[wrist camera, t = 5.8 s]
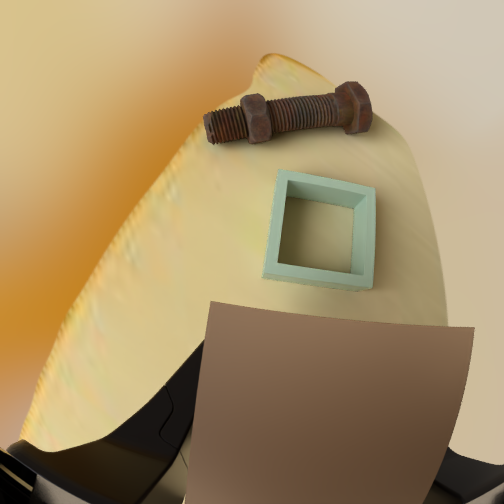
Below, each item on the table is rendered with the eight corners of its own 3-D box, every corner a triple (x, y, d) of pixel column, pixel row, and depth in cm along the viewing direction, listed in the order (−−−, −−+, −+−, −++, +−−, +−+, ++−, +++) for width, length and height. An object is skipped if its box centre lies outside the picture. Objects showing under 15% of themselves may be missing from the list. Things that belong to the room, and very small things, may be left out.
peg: (300, 389, 15) (408, 527, 3) (227, 381, 15) (182, 536, 3) (312, 319, 16) (474, 327, 3) (239, 309, 16) (210, 301, 4)
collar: (357, 291, 22) (372, 288, 19) (261, 278, 22) (263, 272, 19) (362, 202, 24) (375, 188, 21) (274, 185, 24) (278, 168, 21)
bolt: (210, 145, 27) (347, 123, 27) (214, 169, 23) (370, 144, 24) (198, 93, 22) (348, 75, 23) (199, 108, 19) (374, 88, 19)
